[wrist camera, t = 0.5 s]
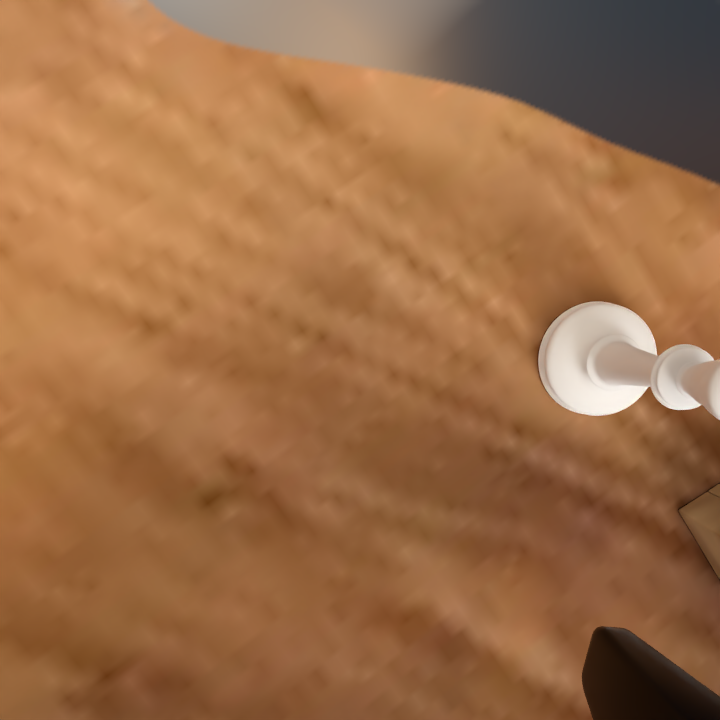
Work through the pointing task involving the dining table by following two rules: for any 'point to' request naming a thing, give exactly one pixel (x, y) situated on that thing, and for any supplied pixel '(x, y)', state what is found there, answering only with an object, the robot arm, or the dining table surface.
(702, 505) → the rack
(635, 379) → the chess piece
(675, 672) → the robot arm
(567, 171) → the dining table surface
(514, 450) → the dining table surface
